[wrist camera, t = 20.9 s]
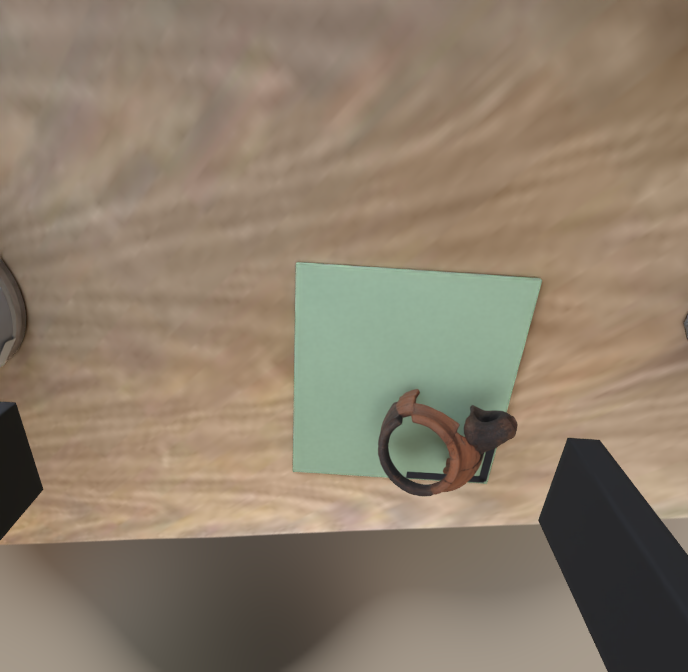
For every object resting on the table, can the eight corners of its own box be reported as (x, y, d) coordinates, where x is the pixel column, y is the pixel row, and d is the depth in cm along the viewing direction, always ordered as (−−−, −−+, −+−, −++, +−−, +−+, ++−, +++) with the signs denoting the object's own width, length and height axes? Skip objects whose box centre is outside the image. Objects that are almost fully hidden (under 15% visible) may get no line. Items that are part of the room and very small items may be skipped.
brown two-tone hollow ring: (429, 477, 46) (399, 520, 39) (386, 395, 46) (349, 422, 39) (542, 441, 40) (531, 485, 33) (491, 348, 40) (469, 370, 33)
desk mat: (293, 467, 46) (292, 472, 45) (296, 261, 36) (295, 264, 36) (485, 479, 46) (487, 484, 45) (539, 277, 36) (543, 280, 36)
